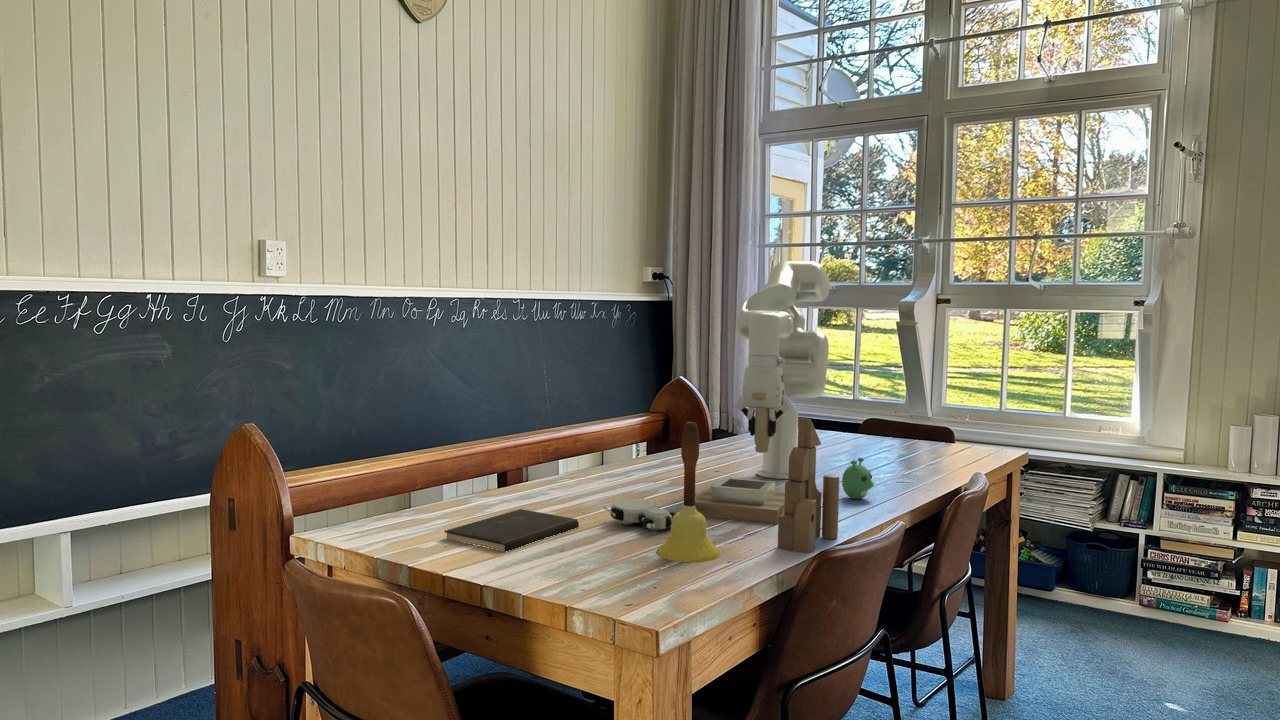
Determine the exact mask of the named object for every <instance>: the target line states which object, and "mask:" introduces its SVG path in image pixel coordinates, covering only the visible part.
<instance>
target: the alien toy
mask: <svg viewBox="0 0 1280 720" xmlns="http://www.w3.org/2000/svg"><path fill="white" fill-rule="evenodd" d="M857 461H858V462H859V463H858V462H857ZM864 461H865V459H864V458H863V457H858V458H857V460H855V459H853V460H851V461H850V464H851V465H849V466H847V467H846V469H845V470H844V471H843V474H842V476H841V477H842V479H841V485H842V488H843V491H844V493H845V494H846V496H848V497H849V498H850V499H854V500H860V499H863V498H865V497H867V496H868V495H867V494H868V491H869V490H870V489H871V488H873V487H874V484H875V483H874V482H873V481H872V479H873V476H872V473H871V469H868V468H867V467H866V466H864V465H862V462H864Z"/></svg>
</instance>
